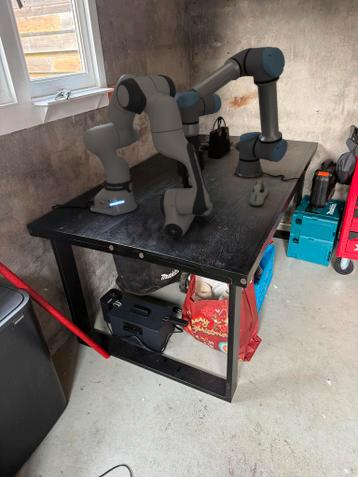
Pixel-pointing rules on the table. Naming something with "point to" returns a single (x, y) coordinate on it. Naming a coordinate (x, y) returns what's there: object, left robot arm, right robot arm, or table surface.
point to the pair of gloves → (205, 143)
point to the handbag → (219, 140)
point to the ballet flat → (258, 193)
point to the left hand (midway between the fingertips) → (192, 199)
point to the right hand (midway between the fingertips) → (191, 188)
